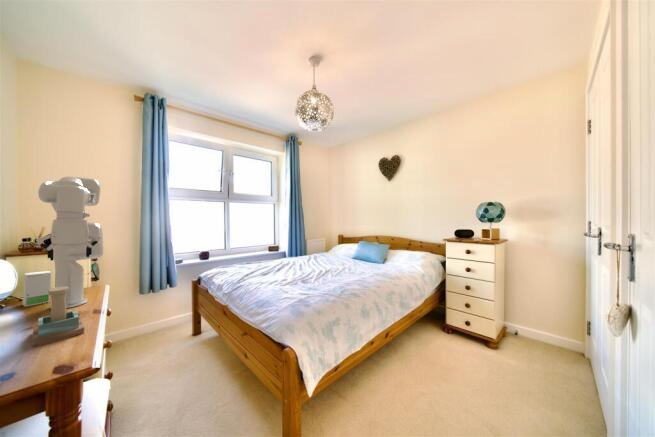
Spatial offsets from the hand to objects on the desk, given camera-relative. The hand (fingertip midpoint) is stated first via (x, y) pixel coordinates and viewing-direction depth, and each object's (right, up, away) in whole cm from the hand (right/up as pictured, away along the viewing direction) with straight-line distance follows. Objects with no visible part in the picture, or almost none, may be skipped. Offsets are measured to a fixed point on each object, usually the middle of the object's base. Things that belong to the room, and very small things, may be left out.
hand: (70, 258), depth 92 cm
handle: (+2, -26, -5) cm, 27 cm away
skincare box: (-43, -27, +23) cm, 56 cm away
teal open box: (+2, -28, -5) cm, 28 cm away
